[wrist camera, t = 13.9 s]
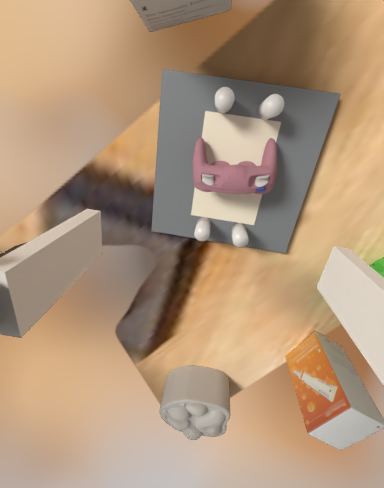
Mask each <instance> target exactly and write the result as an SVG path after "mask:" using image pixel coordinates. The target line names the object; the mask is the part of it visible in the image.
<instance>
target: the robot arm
mask: <svg viewBox="0 0 384 488" xmlns="http://www.w3.org/2000/svg"><path fill="white" fill-rule="evenodd" d="M101 255H102V237H101V213H100V211H97V210H91V209H86V210H84V211H83V212H81V213H79V214H77V215H76V216H74V217H72V218H70V219H68V220H67V221H65V222H63V223H61V224H59V225H58V226H56V227H54V228H52V229H51V230H49V231H47V232H45V233H43V234H42V235H40V236H38V237H36V238H34V239H33V240H31V241H29V242H27V243H24V244H20V245H17V246H14V247H13V248H11V249H9V250H7V251H5V253H2V254H0V334H2V335H7V336H13V337H20V338H21V337H22V336H23V335H24V334H25V333H26V332H27V331H28V330H29V329H30V328H31V327H32V326H33V325H34V324H35V323H36V322H37V321H38V320H39V319H40V318H41V317H42V316H43V315H44V314H45V313H46V312H47V311H48V310H49V308H50V307H51V306H52V305H53V304H54V303H55V302H56V301H57V300H58V299H59V298H60V297H61V296H62V295H63V294H64V293H65V292H66V291H67V290H68V289H69V288H70V287H71V286H72V285H73V283H75V281H77V279H78V278H79V277H80V276H81V275H82V274H83V273H84V272H85V271H86V270H87V269H88V268H89V267H90V266H91V265H92V264H93V263H94V262H95V261H96V260H97V259H98V258H99V257H100V256H101ZM317 289H318V290H319V292H320V293H321V294H322V296H323V297H324V299H325V300H326V302H327V303H328V305H329V306H330V308H331V309H332V311H333V312H334V314H335V315H336V317H337V318H338V319H339V321H340V322H341V324H342V325H343V327H344V328H345V330H346V331H347V333H348V334H349V336H350V337H351V339H352V340H353V341H354V343H355V344H356V346H357V347H358V349H359V350H360V352H361V353H362V355H363V356H364V358H365V359H366V361H367V362H368V364H369V365H370V366H371V368H372V369H373V371H374V372H375V374H376V375H377V377H378V378H379V380H380V381H381V383H382V384H383V386H384V277H382V276H381V275H380V274H379V273H378V272H376V271H375V270H374V269H373V268H372V267H370V266H369V265H368V264H367V263H366V262H364V261H363V260H362V259H361V258H360V257H358V256H357V255H356V254H355V253H353V252H352V251H351V250H350V249H349V248H345V247H338V246H334V247H333V250H332V252H331V254H330V257H329V259H328V261H327V264H326V266H325V268H324V271H323V273H322V275H321V278H320V280H319V282H318V285H317Z"/></svg>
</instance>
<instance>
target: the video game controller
mask: <svg viewBox="0 0 384 488" xmlns="http://www.w3.org/2000/svg"><path fill="white" fill-rule="evenodd" d="M276 175H277V145H276V142H275V140H274V139H273V138H270V139H269V140H268V141H267V143H266V146H265V149H264V153H263V157H262V163H261V166H256V165H255V164H254V163H253V162H250V161H243V162H240V163H238V165H236V164H235V165H230V164H229V163H228V162H225V161H215V162H214V163H212V165H209V164H208V162H207V158H206V146H205V142H204V140H203V138H201V137H200V138H198V139H197V141H196V144H195V149H194V157H193V178H194V186H195V187H196V188H197V189H198V190H200V191H203V192H218V193H226V194H249V193H255V194H265V193H268V192H270V191H271V190H272V188H273V186H274V183H275V180H276Z"/></svg>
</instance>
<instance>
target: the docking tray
mask: <svg viewBox="0 0 384 488" xmlns="http://www.w3.org/2000/svg"><path fill="white" fill-rule="evenodd" d="M339 97H340V94H339V93H331V92H324V91H317V90H310V89H303V88H296V87H289V86H282V85H274V84H267V83H260V82H253V81H246V80H239V79H232V78H225V77H217V76H210V75H203V74H196V73H189V72H182V71H175V70H167V69H162V82H161V96H160V111H159V127H158V142H157V157H156V172H155V187H154V203H153V218H152V231H154V232H160V233H166V234H172V235H178V236H184V237H190V238H196V239H197V240H199V241H205V240H208V241H214V242H220V243H226V244H232V245H235V246H236V247H240V248H241V247H244V246H245V247H251V248H257V249H263V250H269V251H275V252H281V253H286V250H287V247H288V244H289V241H290V238H291V236H292V233H293V230H294V227H295V224H296V221H297V218H298V215H299V212H300V210H301V207H302V204H303V201H304V198H305V195H306V192H307V189H308V186H309V184H310V181H311V178H312V175H313V172H314V169H315V166H316V163H317V160H318V158H319V155H320V152H321V149H322V146H323V143H324V140H325V137H326V134H327V131H328V129H329V126H330V123H331V120H332V117H333V114H334V111H335V108H336V105H337V103H338V100H339ZM200 137H201V138H203V140H204V142H205V146H206V158H207V162H208V164H209V165H212V163H214V162H215V161H225V162H228V163H229V164H230V165H235V164H236V165H238V163H240V162H243V161H250V162H253V163H254V164H255V165H256V166H261V163H262V157H263V153H264V149H265V146H266V143H267V141H268V140H269V139H270V138H273V139H274V140H275V142H276V145H277V175H276V180H275V183H274V186H273V188H272V190H271V191H270V192H268V193H265V194H255V193H249V194H226V193H218V192H203V191H200V190H198V189H197V188H196V187H195V186H194V178H193V157H194V149H195V144H196V141H197V139H198V138H200Z"/></svg>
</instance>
